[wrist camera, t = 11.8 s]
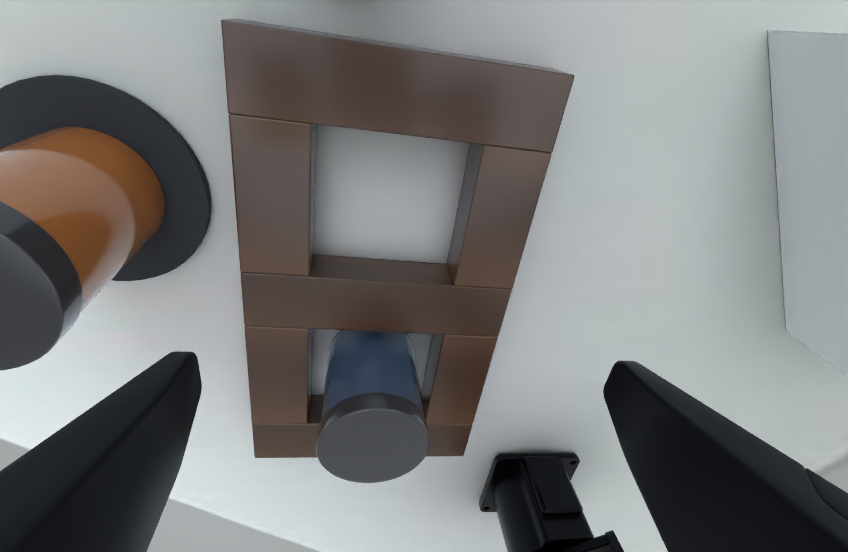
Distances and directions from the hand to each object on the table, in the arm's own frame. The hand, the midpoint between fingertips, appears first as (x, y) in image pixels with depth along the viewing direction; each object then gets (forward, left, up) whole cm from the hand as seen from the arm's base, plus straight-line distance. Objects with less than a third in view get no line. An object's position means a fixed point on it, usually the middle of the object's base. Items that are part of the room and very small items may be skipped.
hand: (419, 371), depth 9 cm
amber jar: (-2, +12, -12) cm, 18 cm away
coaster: (-2, +12, -13) cm, 18 cm away
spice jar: (-11, 0, -13) cm, 17 cm away
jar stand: (-6, 0, -13) cm, 14 cm away
